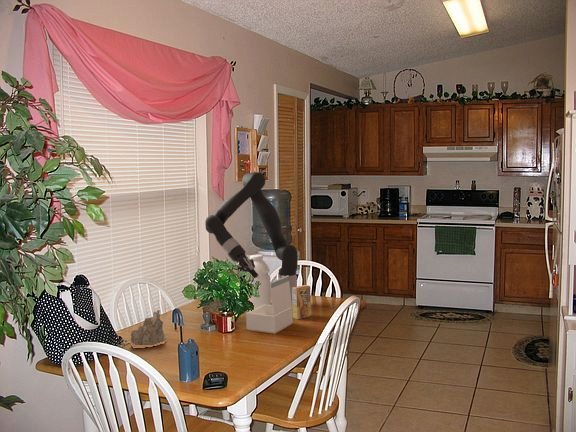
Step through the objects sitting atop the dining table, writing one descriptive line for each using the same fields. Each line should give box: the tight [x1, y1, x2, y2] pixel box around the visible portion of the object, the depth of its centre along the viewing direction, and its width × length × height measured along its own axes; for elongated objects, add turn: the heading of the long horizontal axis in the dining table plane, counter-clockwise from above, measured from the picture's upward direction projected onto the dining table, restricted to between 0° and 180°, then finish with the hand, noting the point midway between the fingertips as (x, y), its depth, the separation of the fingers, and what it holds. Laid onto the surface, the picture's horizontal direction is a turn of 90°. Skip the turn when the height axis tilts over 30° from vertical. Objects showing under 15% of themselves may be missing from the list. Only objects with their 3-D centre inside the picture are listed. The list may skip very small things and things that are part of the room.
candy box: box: [292, 284, 312, 320], centre depth 286 cm, size 9×4×15 cm, turn 129°
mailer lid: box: [270, 275, 292, 316], centre depth 268 cm, size 1×17×15 cm, turn 151°
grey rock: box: [130, 309, 167, 345], centre depth 254 cm, size 16×16×15 cm
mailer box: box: [245, 304, 294, 335], centre depth 272 cm, size 15×17×8 cm
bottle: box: [249, 254, 272, 309], centre depth 306 cm, size 14×14×28 cm
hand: (256, 276), depth 273 cm, fingers closed
